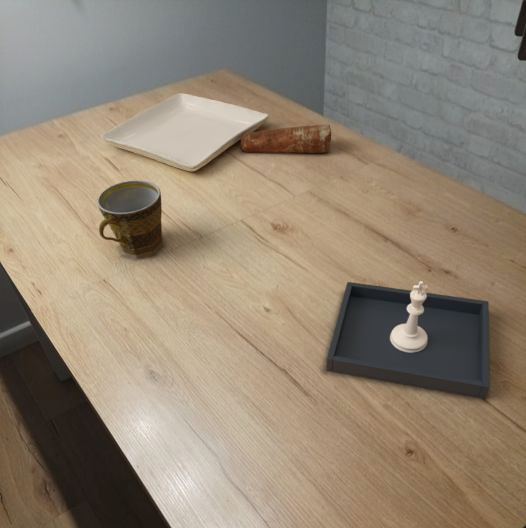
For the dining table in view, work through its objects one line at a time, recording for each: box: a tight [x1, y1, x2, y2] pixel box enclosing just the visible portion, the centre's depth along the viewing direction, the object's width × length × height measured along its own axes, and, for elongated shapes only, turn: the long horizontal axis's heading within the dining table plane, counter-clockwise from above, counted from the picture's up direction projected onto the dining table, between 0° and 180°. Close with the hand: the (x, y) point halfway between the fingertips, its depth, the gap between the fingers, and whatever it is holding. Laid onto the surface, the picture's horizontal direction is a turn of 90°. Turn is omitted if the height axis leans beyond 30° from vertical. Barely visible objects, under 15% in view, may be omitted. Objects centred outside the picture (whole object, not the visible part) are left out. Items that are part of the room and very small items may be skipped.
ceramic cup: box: [96, 179, 163, 260], centre depth 84 cm, size 13×10×10 cm
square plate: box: [99, 92, 270, 172], centre depth 114 cm, size 27×27×4 cm
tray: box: [325, 281, 490, 400], centre depth 69 cm, size 20×16×3 cm
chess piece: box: [390, 280, 429, 353], centre depth 66 cm, size 5×5×10 cm
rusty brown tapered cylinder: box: [240, 124, 332, 154], centre depth 108 cm, size 6×19×6 cm, turn 82°
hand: (524, 47), depth 61 cm, fingers open, 8 cm apart
